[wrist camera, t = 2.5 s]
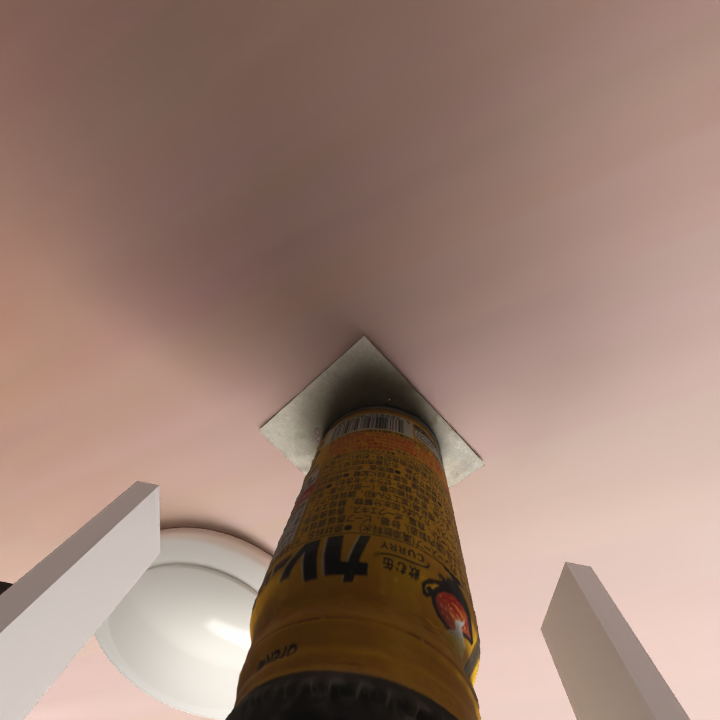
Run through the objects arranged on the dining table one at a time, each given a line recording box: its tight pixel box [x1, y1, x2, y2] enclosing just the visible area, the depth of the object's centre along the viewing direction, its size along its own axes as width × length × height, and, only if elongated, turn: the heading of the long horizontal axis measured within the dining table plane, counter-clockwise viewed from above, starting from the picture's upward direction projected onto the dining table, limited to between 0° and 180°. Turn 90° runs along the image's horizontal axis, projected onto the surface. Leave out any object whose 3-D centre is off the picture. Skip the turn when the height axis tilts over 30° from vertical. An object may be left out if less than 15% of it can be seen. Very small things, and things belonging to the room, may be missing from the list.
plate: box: [94, 527, 273, 720], centre depth 21 cm, size 14×14×1 cm
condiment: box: [225, 336, 484, 720], centre depth 12 cm, size 7×8×12 cm
